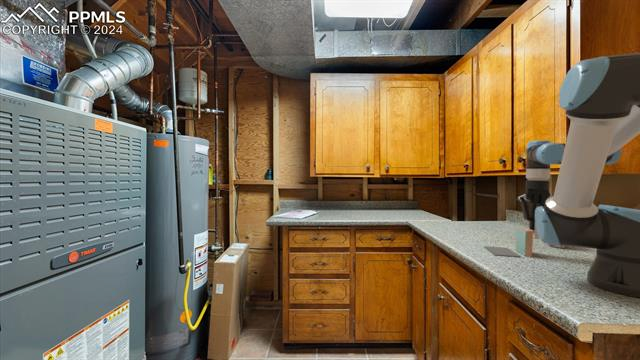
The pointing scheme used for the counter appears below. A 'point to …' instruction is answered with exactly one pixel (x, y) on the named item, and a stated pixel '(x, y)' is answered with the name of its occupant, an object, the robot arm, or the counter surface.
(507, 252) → the mat
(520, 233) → the tile
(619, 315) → the counter surface
